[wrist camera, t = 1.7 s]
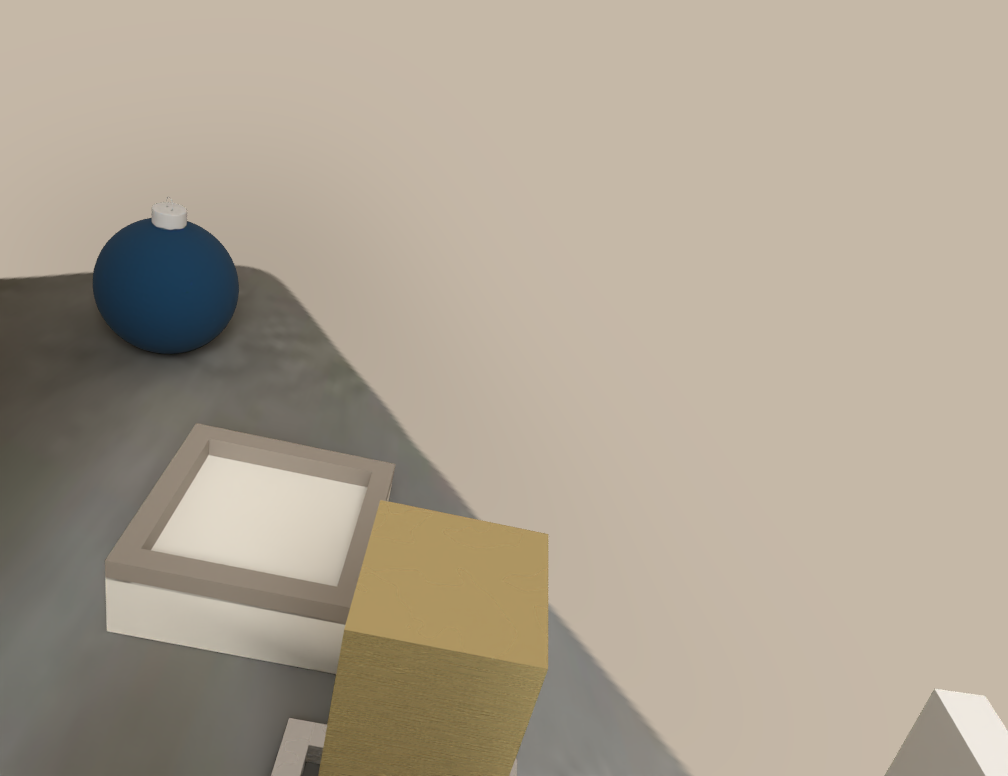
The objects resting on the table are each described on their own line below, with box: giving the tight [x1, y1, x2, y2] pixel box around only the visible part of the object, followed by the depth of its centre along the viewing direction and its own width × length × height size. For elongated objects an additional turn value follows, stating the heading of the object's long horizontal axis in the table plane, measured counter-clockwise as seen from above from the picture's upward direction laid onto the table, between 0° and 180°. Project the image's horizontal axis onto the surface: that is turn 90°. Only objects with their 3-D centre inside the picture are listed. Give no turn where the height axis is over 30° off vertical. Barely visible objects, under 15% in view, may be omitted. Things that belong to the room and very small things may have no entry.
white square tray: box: [105, 423, 395, 674], centre depth 39 cm, size 10×10×4 cm
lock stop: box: [318, 500, 548, 776], centre depth 26 cm, size 5×5×14 cm
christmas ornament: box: [93, 197, 239, 354], centre depth 52 cm, size 8×8×10 cm
